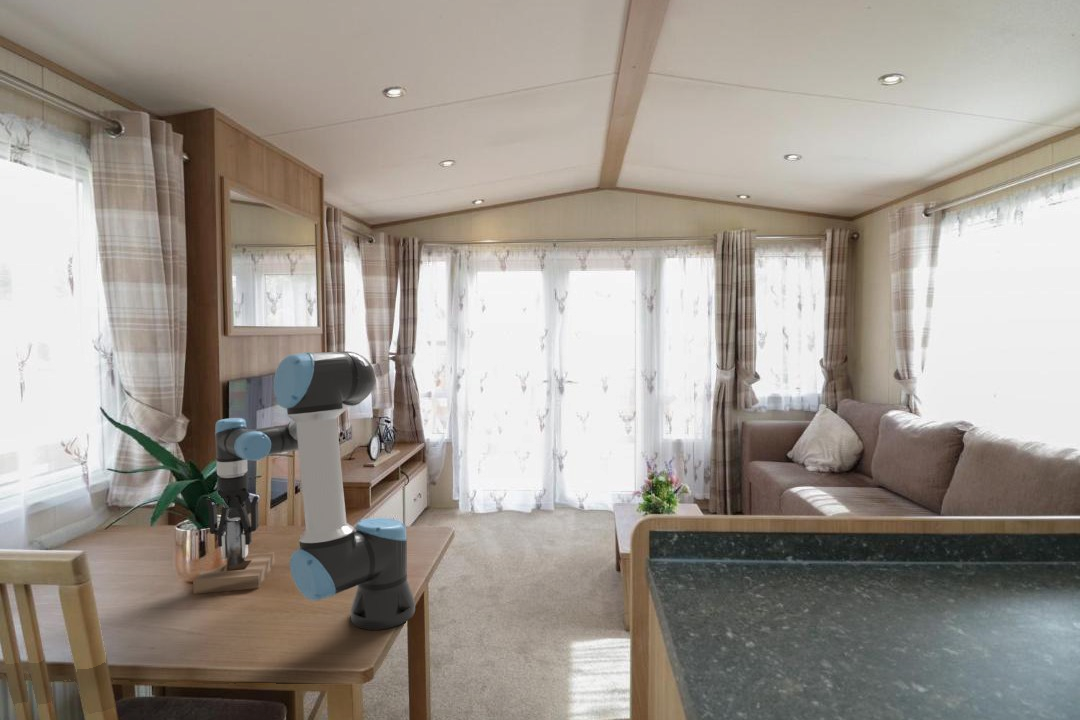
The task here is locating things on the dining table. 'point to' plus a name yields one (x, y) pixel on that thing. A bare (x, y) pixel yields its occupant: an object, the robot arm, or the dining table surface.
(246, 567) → the jig
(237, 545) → the grey metal peg
